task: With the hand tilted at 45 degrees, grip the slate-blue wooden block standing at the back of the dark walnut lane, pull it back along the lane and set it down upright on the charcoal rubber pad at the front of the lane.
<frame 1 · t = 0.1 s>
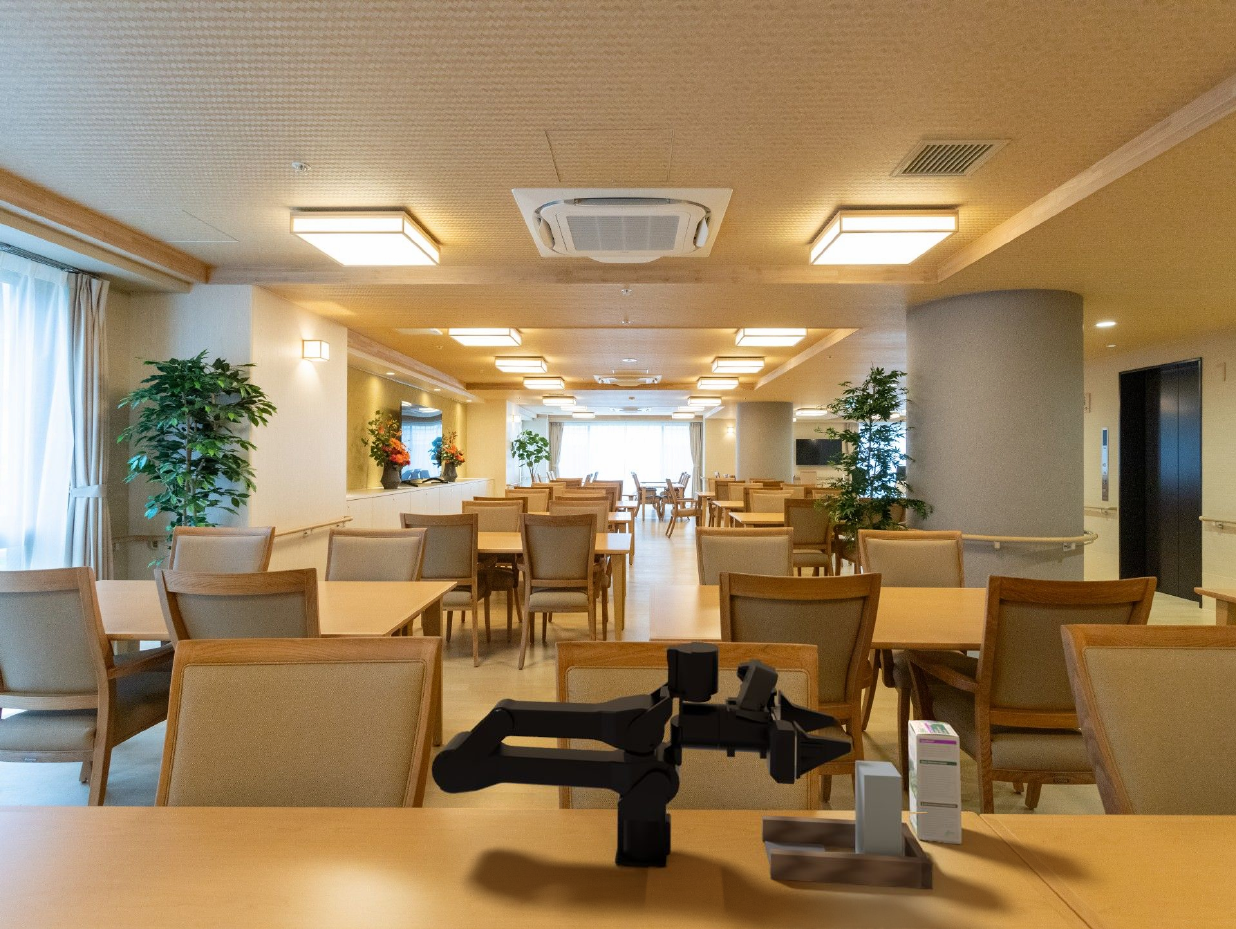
hand: (842, 733, 88), 17 cm above the table, tool horizontal, fingers open, 9 cm apart
syrup box: (934, 833, 96), on the table
slate block: (878, 863, 88), resting in walnut lane
walnut lane: (841, 861, 88), on the table
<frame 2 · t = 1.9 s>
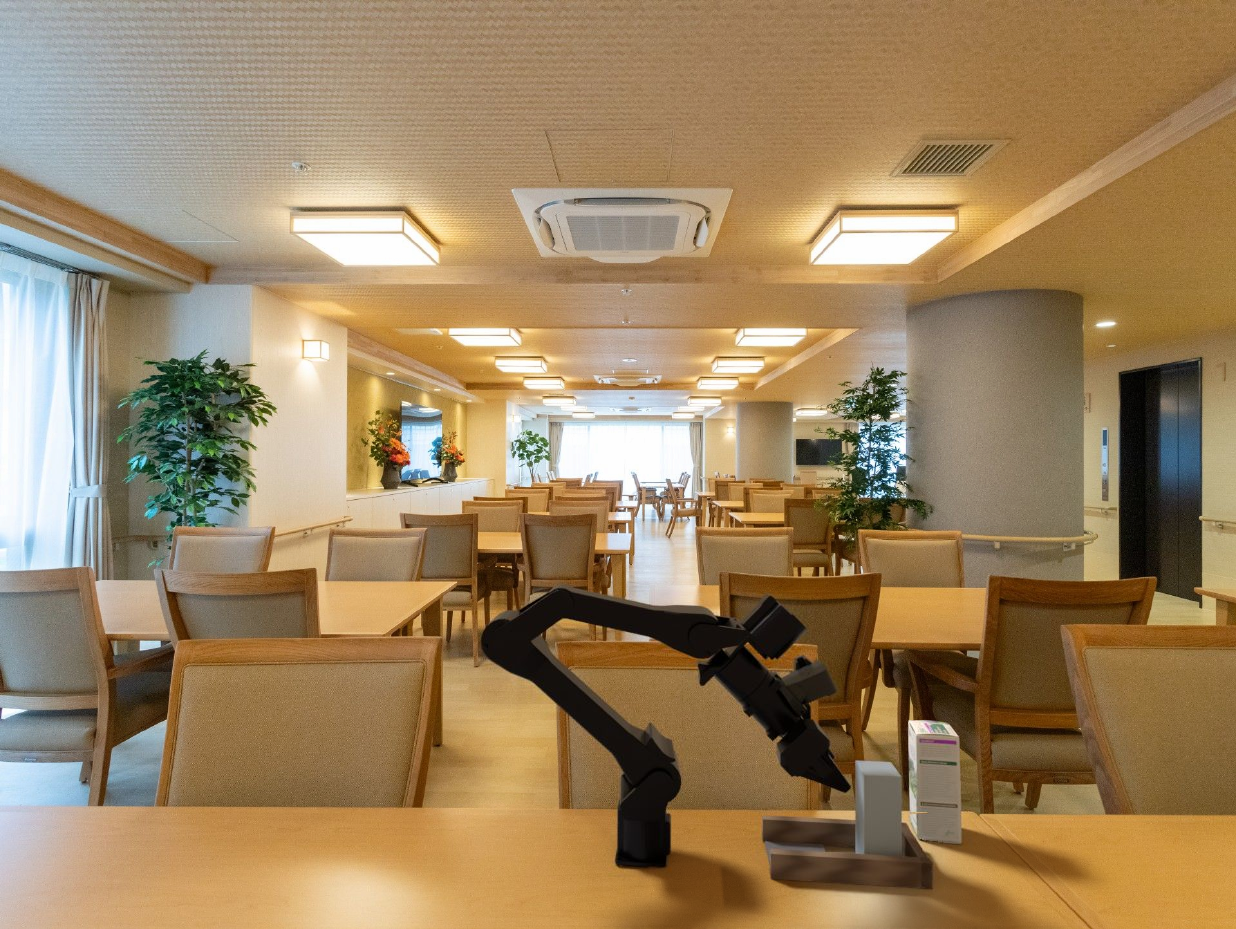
hand: (839, 774, 89), 11 cm above the table, tool tilted 45°, fingers open, 9 cm apart
nothing on the table moved.
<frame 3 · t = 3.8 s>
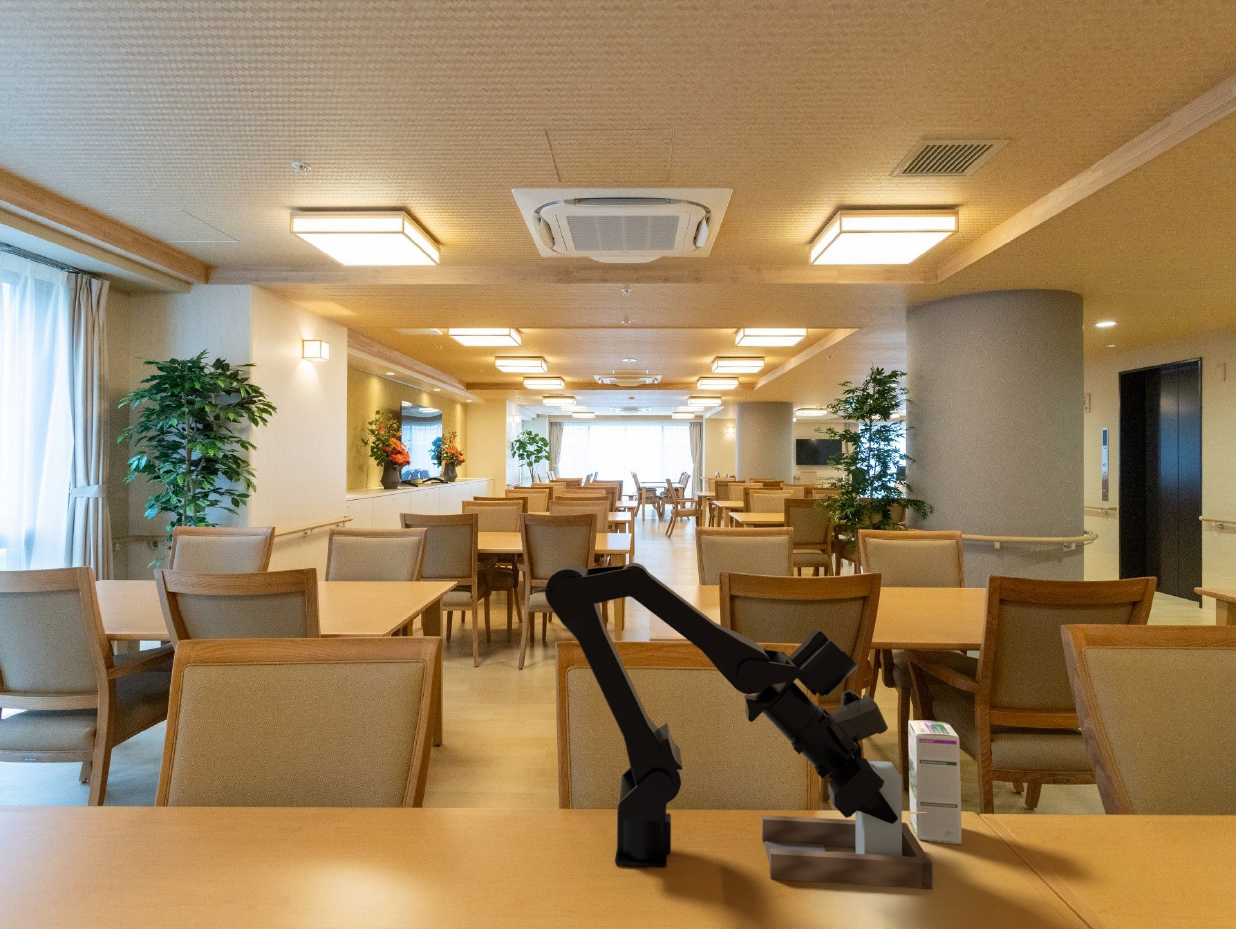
hand: (889, 811, 88), 7 cm above the table, tool tilted 45°, fingers closed on slate block, 4 cm apart
slate block: (878, 863, 88), resting in walnut lane, touching gripper
everything else where it was.
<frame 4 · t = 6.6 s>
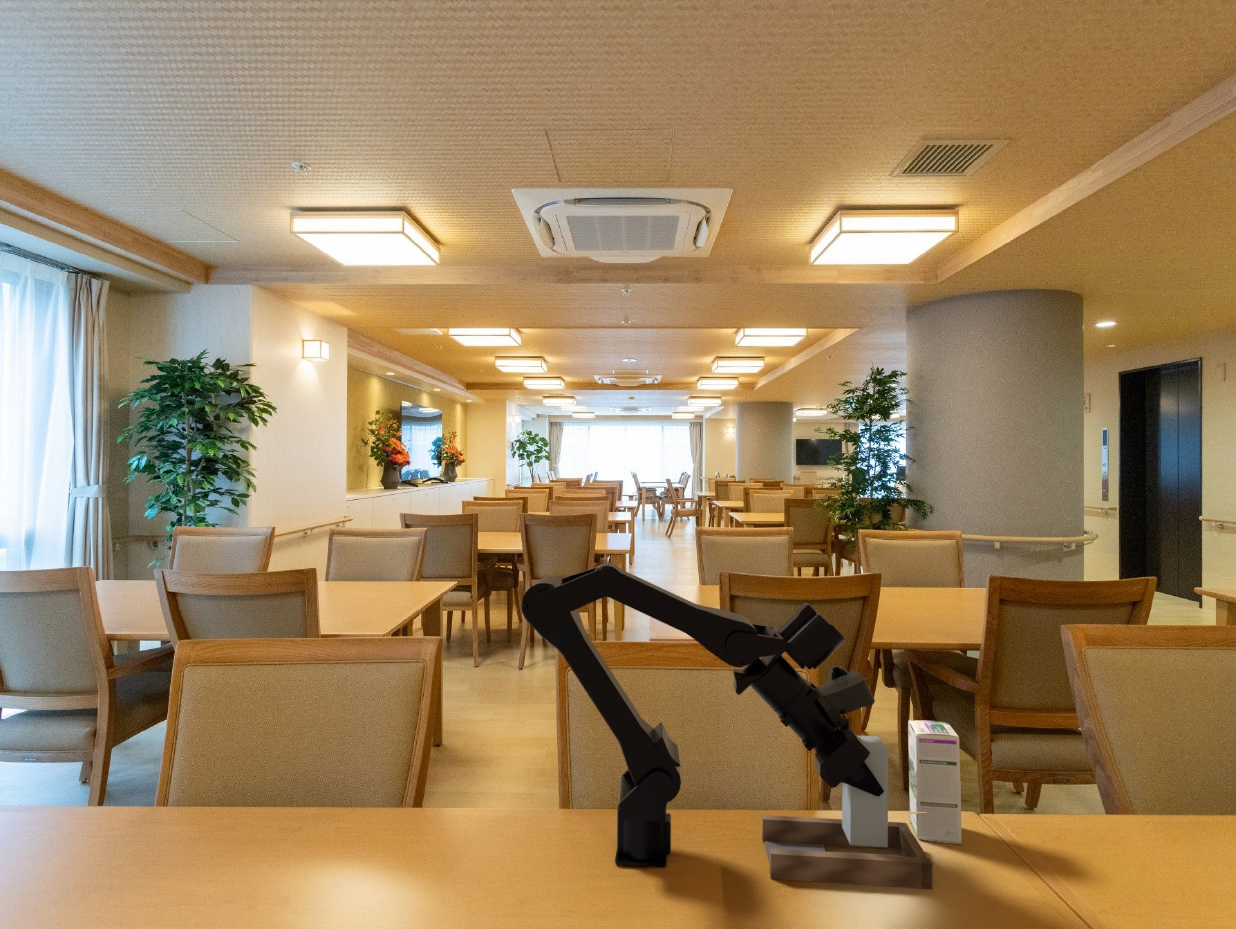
hand: (875, 785, 88), 10 cm above the table, tool tilted 45°, fingers closed on slate block, 4 cm apart
slate block: (864, 837, 88), point 3 cm above the table, touching gripper
everything else where it was.
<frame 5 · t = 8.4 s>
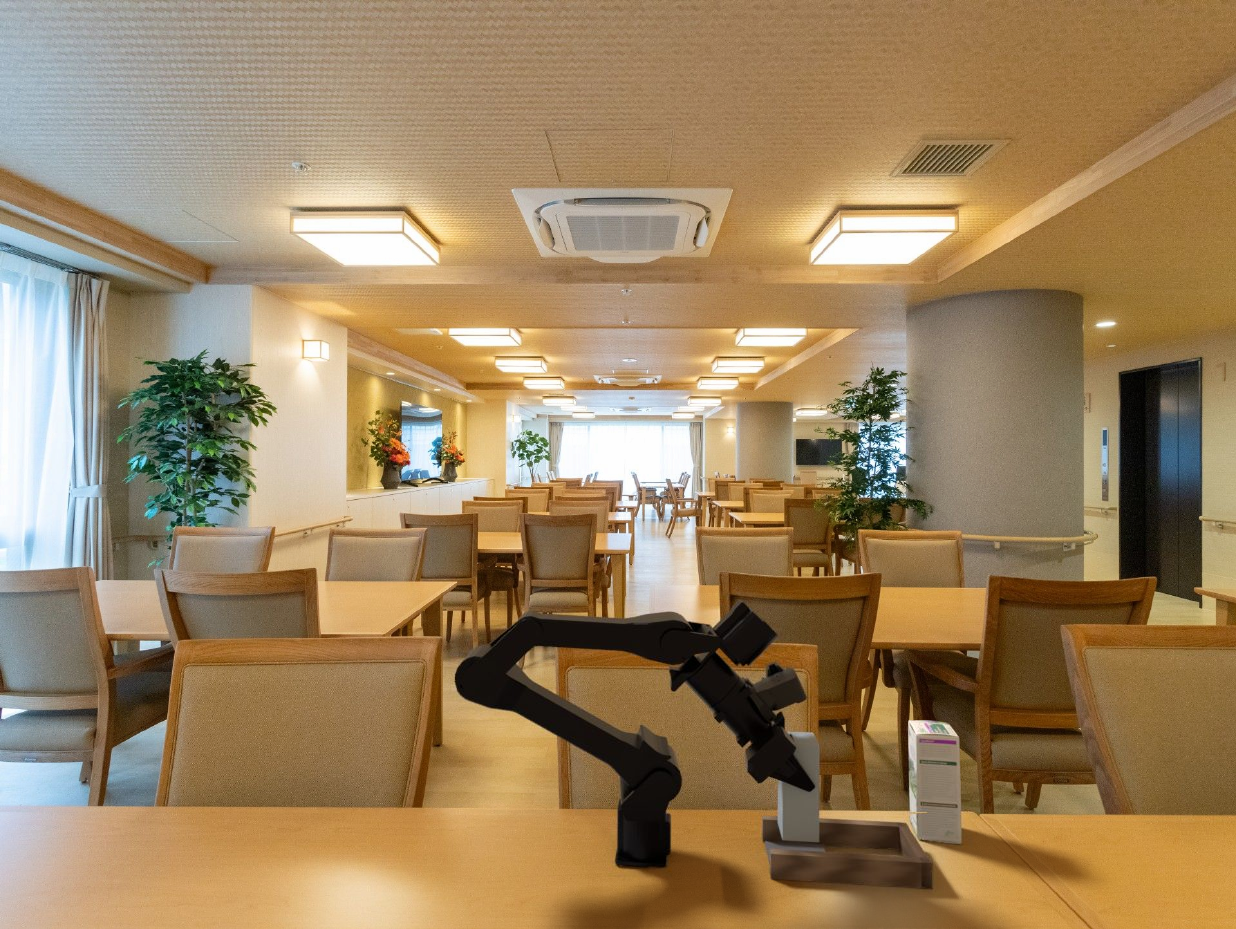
hand: (809, 781, 89), 10 cm above the table, tool tilted 45°, fingers closed on slate block, 4 cm apart
slate block: (797, 832, 89), point 3 cm above the table, touching gripper
everything else where it was.
when the fingers open (7 cm above the table, at t = 9.7 s): slate block stays where it is, resting on walnut lane.
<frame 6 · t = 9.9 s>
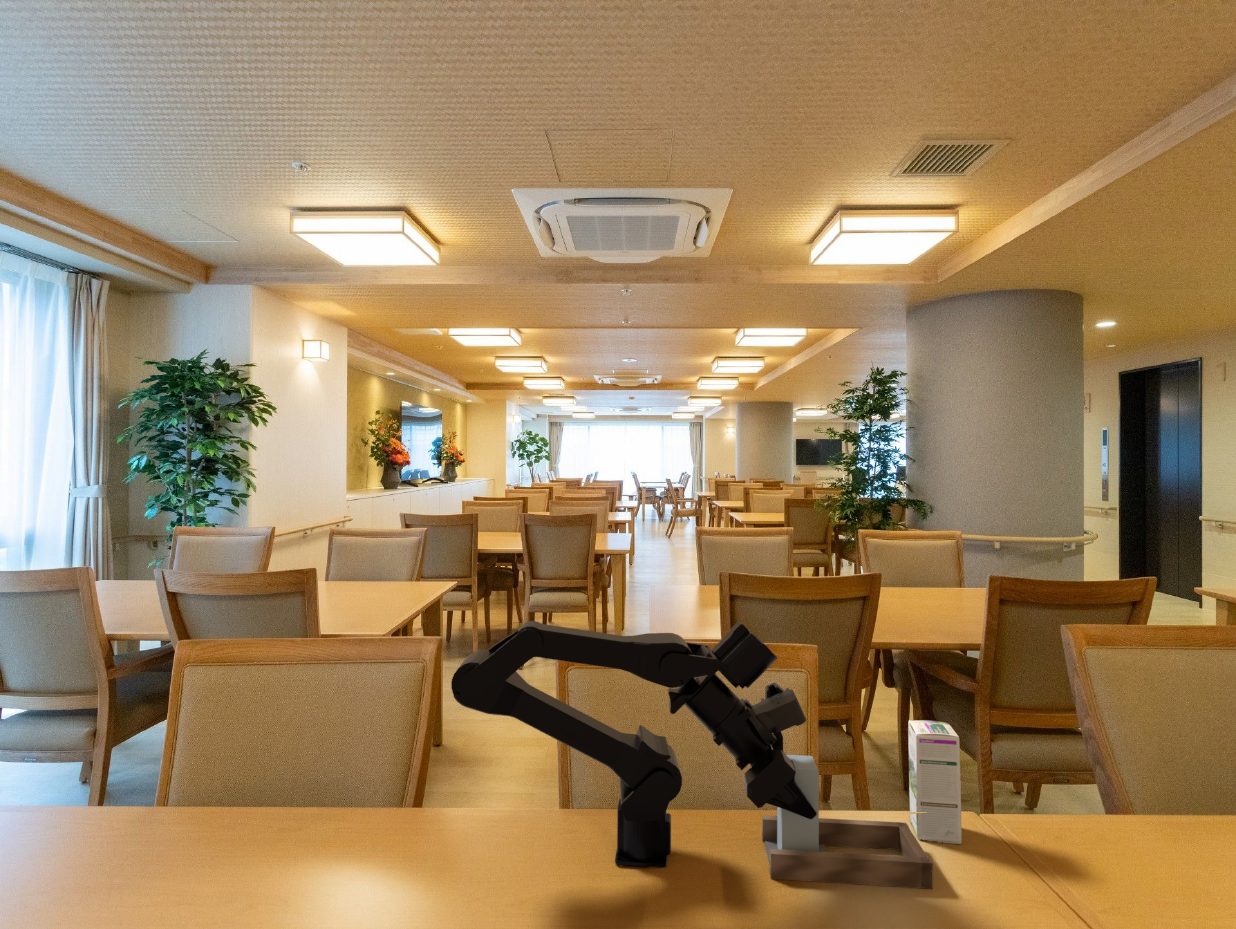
hand: (808, 803, 89), 7 cm above the table, tool tilted 45°, fingers open, 7 cm apart
slate block: (797, 856, 89), resting on walnut lane
everything else where it was.
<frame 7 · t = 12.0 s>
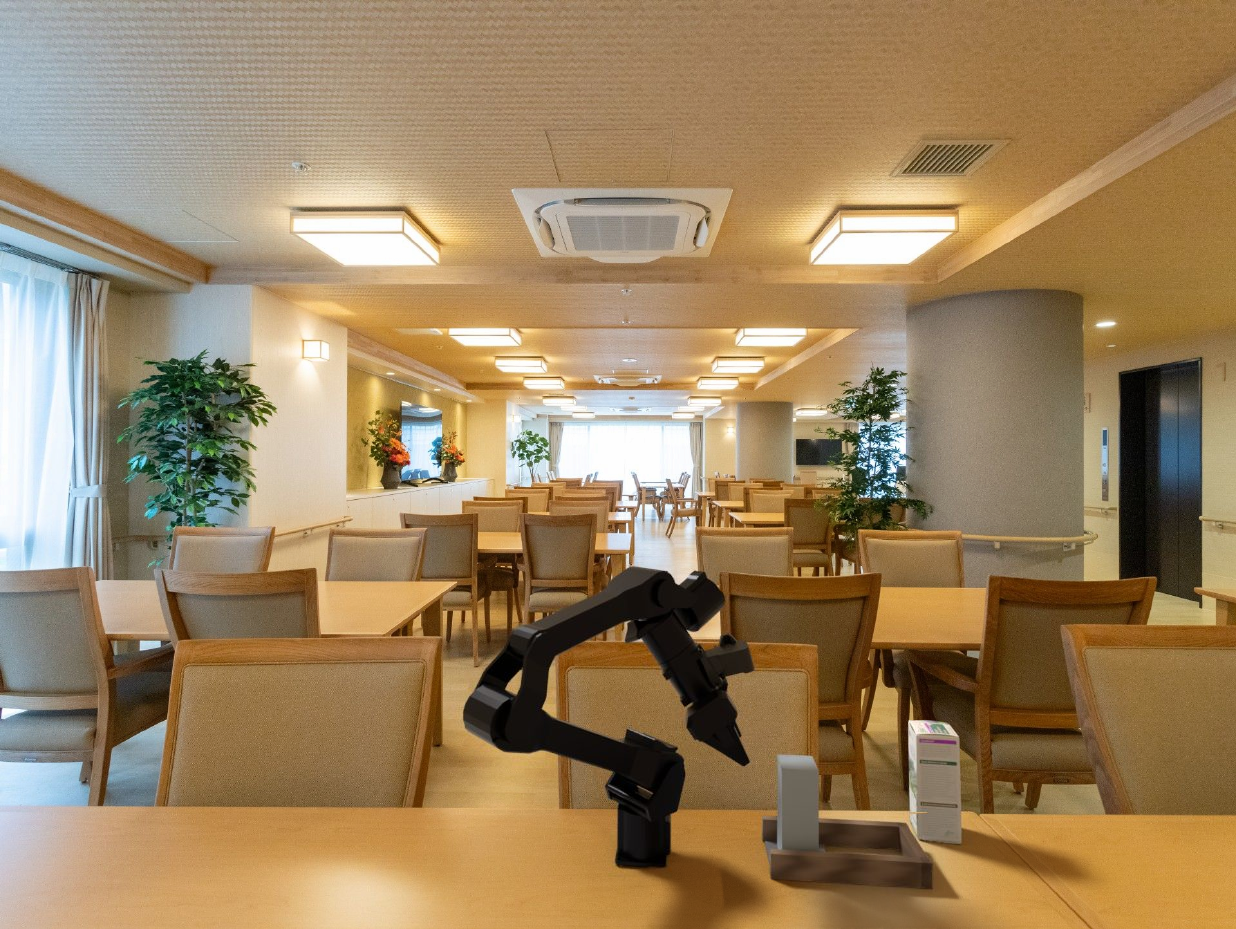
hand: (742, 750, 92), 13 cm above the table, tool tilted 35°, fingers open, 9 cm apart
nothing on the table moved.
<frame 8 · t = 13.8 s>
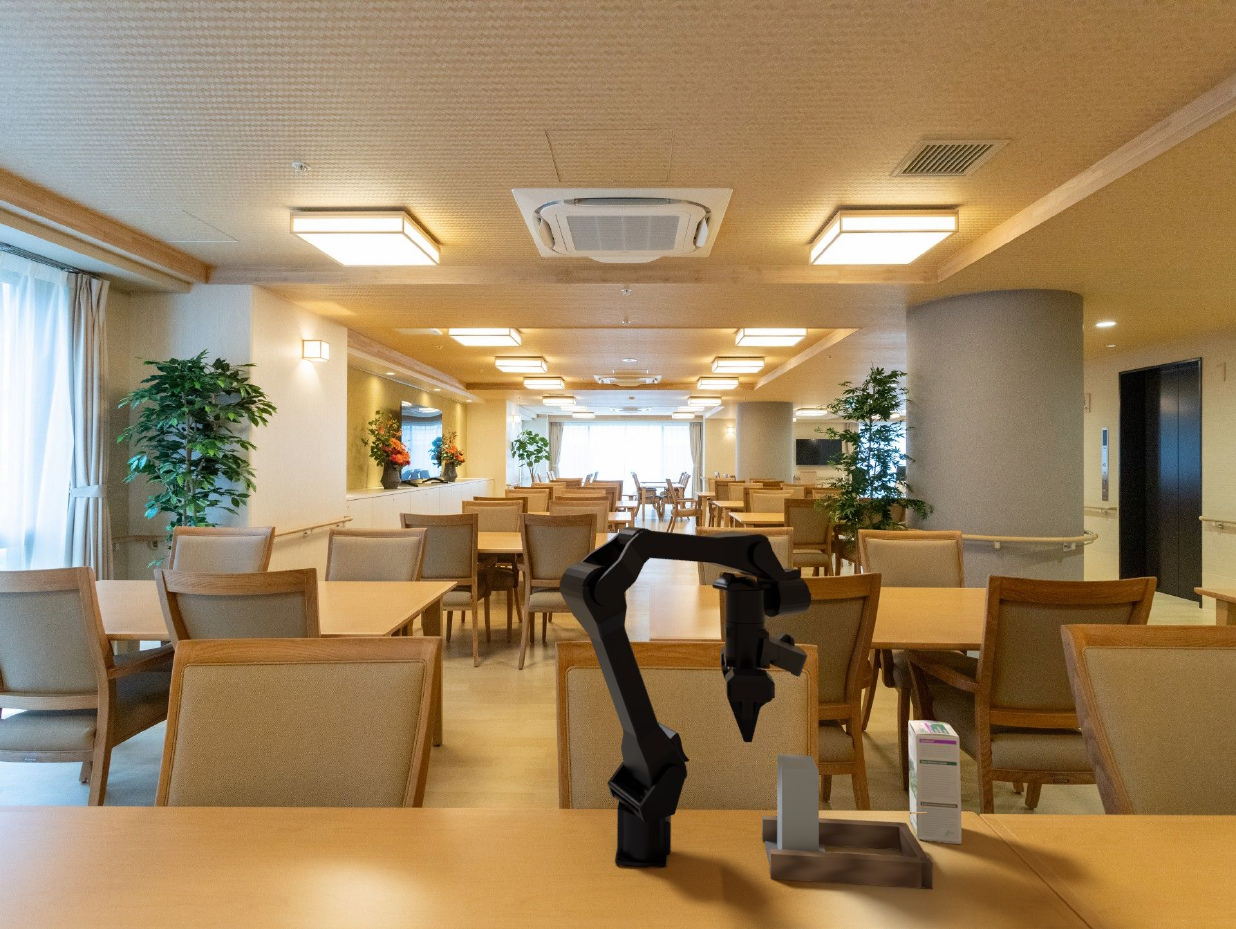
hand: (744, 729, 99), 13 cm above the table, tool pointing down, fingers open, 9 cm apart
nothing on the table moved.
at the end: slate block inside the target area (0.1 cm from its centre), resting on walnut lane; slate block tilted 0°; the gripper is holding nothing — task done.
